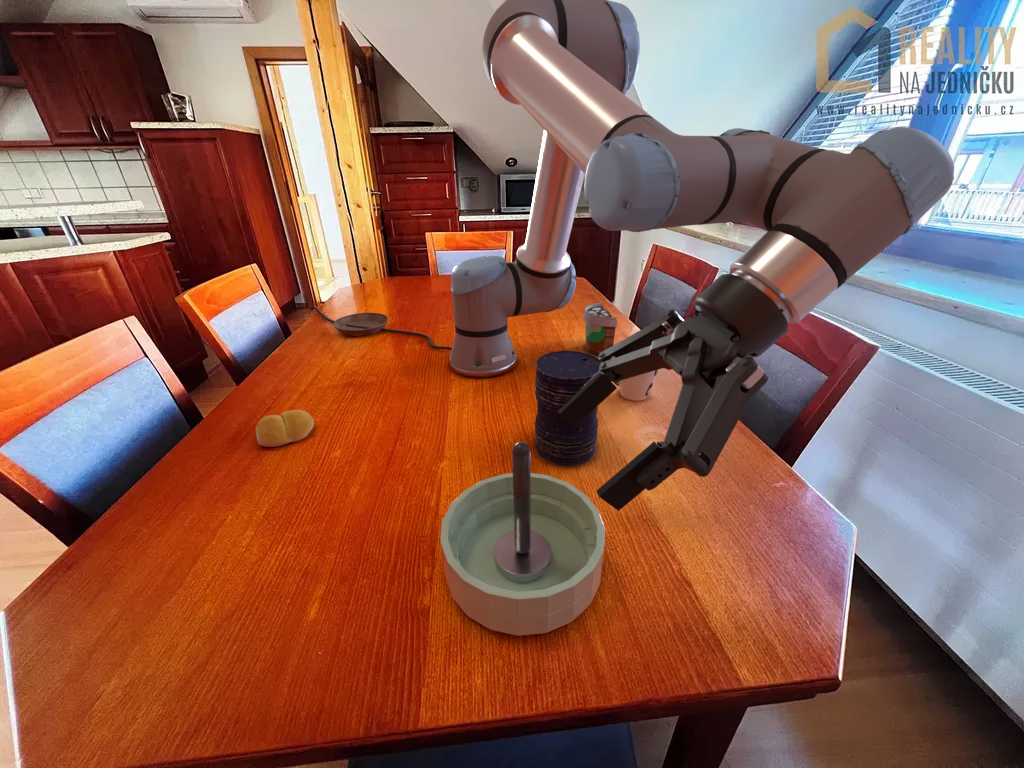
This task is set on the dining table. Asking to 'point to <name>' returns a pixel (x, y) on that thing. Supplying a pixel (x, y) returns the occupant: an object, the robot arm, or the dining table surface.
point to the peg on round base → (522, 529)
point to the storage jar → (554, 389)
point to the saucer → (361, 323)
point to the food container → (599, 328)
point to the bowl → (553, 516)
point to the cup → (638, 386)
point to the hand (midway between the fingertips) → (583, 454)
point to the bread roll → (283, 428)
